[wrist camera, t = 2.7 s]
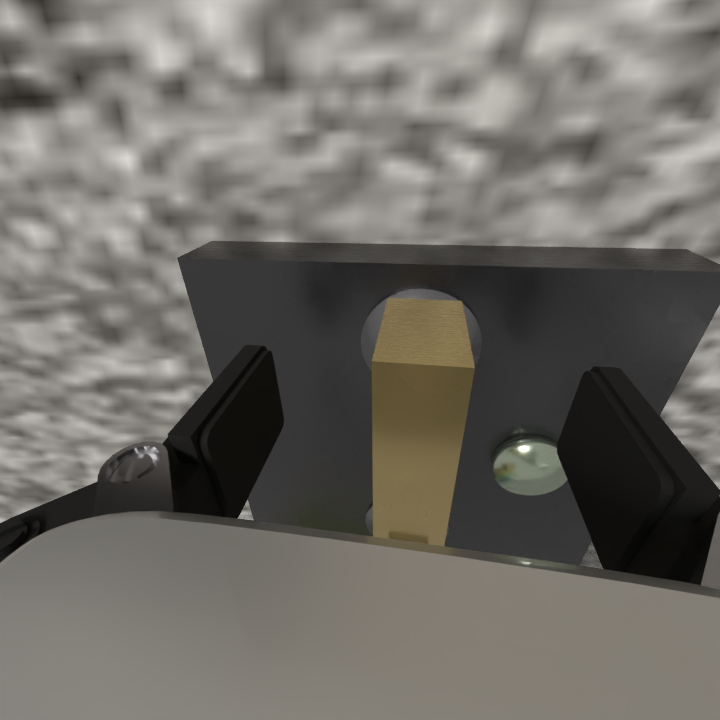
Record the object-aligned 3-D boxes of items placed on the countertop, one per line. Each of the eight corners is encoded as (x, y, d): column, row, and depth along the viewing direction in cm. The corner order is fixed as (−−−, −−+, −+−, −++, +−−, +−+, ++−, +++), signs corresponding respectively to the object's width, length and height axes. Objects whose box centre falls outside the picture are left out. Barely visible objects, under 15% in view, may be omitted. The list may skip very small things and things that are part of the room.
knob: (468, 263, 11) (501, 376, 6) (446, 420, 15) (455, 578, 9) (384, 261, 12) (347, 365, 6) (382, 414, 15) (357, 564, 10)
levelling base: (686, 249, 13) (752, 279, 10) (557, 535, 22) (574, 590, 19) (211, 241, 15) (167, 262, 13) (272, 498, 24) (253, 542, 22)
